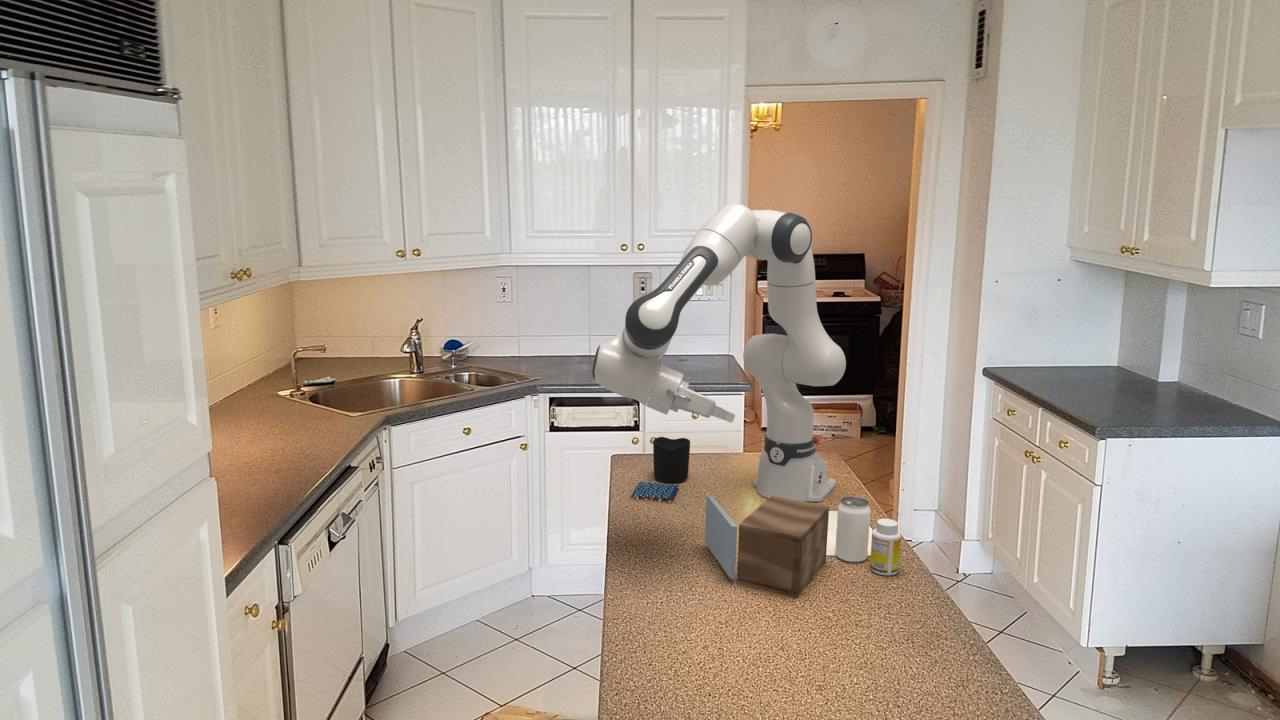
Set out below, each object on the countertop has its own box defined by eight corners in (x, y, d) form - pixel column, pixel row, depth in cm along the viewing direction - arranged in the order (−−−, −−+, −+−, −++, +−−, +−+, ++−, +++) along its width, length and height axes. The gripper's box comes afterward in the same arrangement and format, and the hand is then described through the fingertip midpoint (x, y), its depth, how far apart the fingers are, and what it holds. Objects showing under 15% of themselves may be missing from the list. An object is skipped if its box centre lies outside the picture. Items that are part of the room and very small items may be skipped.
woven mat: (637, 487, 227) (638, 479, 227) (679, 491, 225) (680, 483, 225) (629, 501, 217) (629, 493, 217) (672, 505, 215) (673, 497, 215)
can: (843, 547, 191) (847, 493, 189) (872, 556, 187) (876, 500, 185) (829, 557, 186) (832, 501, 184) (858, 566, 182) (862, 509, 180)
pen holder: (671, 470, 239) (671, 433, 237) (696, 479, 232) (697, 441, 230) (644, 477, 233) (645, 440, 231) (670, 487, 226) (671, 448, 224)
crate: (769, 550, 189) (772, 495, 187) (825, 562, 184) (829, 506, 181) (736, 583, 174) (739, 524, 171) (797, 597, 168) (800, 537, 166)
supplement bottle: (894, 564, 183) (897, 517, 181) (901, 577, 178) (905, 527, 176) (866, 564, 183) (870, 516, 181) (873, 576, 178) (876, 527, 176)
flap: (704, 542, 190) (706, 494, 188) (709, 541, 190) (711, 494, 188) (730, 578, 173) (732, 526, 171) (735, 578, 174) (737, 526, 171)
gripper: (674, 375, 171) (742, 404, 170) (672, 377, 191) (733, 402, 191) (661, 406, 171) (729, 435, 170) (661, 405, 191) (721, 430, 191)
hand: (731, 418), depth 181 cm, fingers open, 8 cm apart
